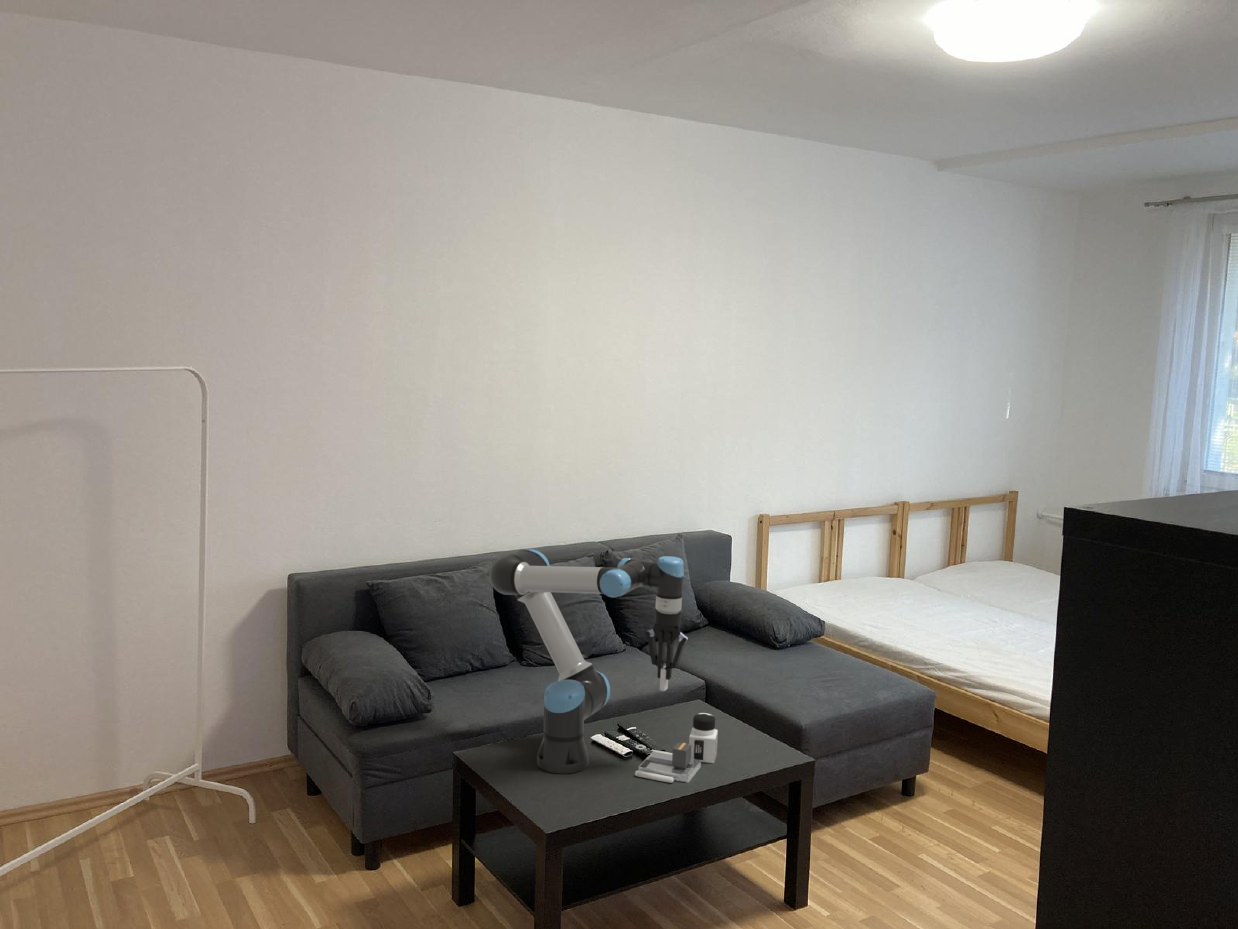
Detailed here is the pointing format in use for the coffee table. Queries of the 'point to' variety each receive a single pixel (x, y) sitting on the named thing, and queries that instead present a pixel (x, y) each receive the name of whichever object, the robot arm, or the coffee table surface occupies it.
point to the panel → (669, 767)
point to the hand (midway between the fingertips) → (663, 689)
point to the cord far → (662, 752)
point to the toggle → (681, 755)
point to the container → (703, 738)
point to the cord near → (654, 776)
